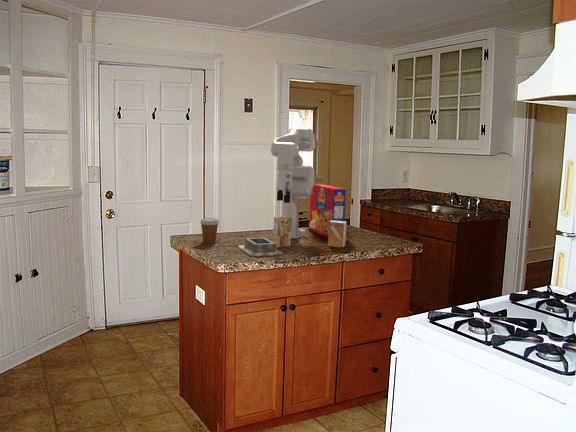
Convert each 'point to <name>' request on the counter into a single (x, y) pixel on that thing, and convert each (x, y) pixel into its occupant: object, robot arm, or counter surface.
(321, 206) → the pasta box
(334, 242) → the small box
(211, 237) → the disposable coffee cup
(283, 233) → the candy box
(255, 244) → the slot stand
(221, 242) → the counter surface
